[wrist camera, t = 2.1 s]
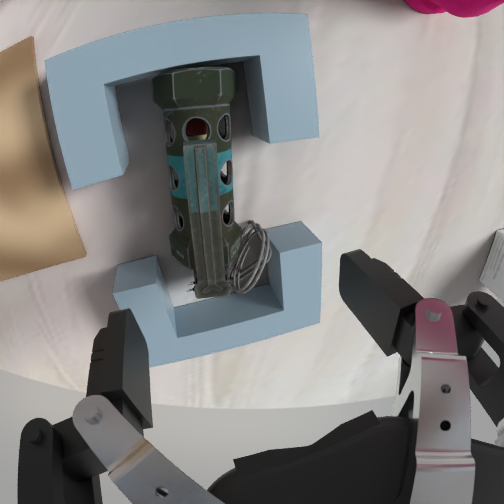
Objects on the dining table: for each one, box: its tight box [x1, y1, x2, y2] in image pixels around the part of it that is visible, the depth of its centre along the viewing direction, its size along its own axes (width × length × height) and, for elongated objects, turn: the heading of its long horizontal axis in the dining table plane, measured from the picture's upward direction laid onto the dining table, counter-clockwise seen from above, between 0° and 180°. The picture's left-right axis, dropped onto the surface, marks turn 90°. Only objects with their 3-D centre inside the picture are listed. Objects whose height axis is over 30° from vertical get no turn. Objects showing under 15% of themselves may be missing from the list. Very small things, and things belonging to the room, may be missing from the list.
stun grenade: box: [152, 67, 272, 299], centre depth 17 cm, size 6×6×14 cm
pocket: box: [45, 13, 322, 367], centre depth 18 cm, size 22×14×4 cm, turn 7°
